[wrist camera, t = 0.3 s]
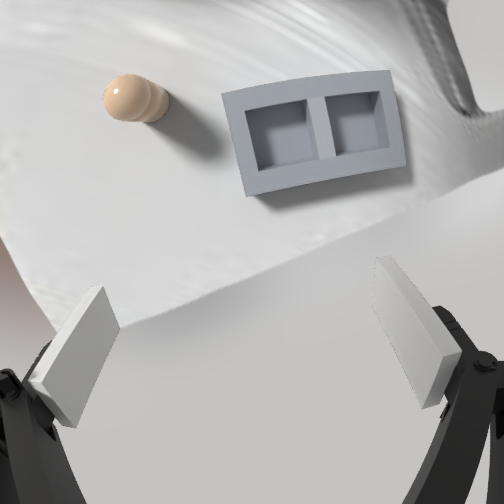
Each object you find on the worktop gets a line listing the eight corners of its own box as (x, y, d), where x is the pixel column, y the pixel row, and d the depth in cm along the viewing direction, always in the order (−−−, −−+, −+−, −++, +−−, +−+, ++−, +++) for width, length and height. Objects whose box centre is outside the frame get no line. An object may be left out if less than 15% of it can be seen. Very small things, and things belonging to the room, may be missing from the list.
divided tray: (223, 98, 35) (221, 93, 31) (375, 75, 34) (389, 70, 30) (245, 189, 40) (245, 197, 35) (391, 161, 38) (406, 165, 34)
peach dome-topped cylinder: (128, 92, 34) (91, 81, 24) (164, 79, 34) (137, 62, 24) (136, 127, 36) (101, 128, 26) (173, 115, 36) (148, 110, 26)
